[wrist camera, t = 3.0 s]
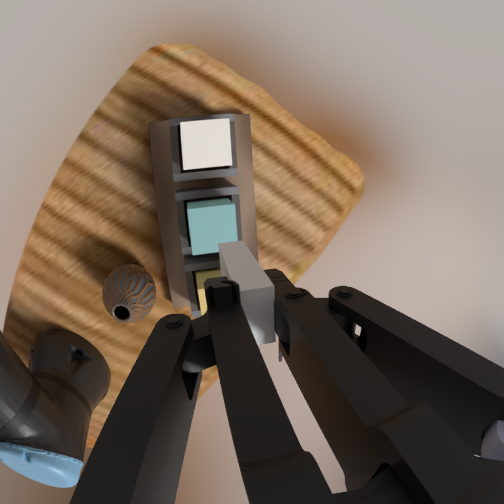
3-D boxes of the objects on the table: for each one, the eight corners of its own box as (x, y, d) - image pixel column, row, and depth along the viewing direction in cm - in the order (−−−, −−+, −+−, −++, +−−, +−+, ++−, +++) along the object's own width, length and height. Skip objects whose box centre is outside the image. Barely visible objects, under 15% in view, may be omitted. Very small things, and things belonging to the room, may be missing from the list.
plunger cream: (184, 169, 28) (183, 169, 23) (181, 129, 27) (180, 122, 22) (225, 165, 29) (232, 165, 24) (222, 125, 27) (229, 118, 23)
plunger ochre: (200, 304, 33) (203, 326, 29) (195, 271, 32) (197, 289, 27) (236, 299, 34) (244, 320, 29) (232, 266, 33) (241, 283, 28)
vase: (115, 250, 33) (96, 276, 25) (163, 265, 36) (158, 295, 27) (106, 295, 35) (90, 329, 27) (152, 309, 37) (145, 346, 29)
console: (173, 303, 37) (172, 324, 32) (151, 124, 30) (144, 116, 25) (257, 291, 40) (268, 309, 35) (247, 116, 32) (257, 107, 27)
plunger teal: (191, 241, 31) (192, 255, 26) (187, 202, 29) (187, 209, 25) (230, 236, 31) (238, 249, 27) (227, 197, 30) (234, 204, 25)
